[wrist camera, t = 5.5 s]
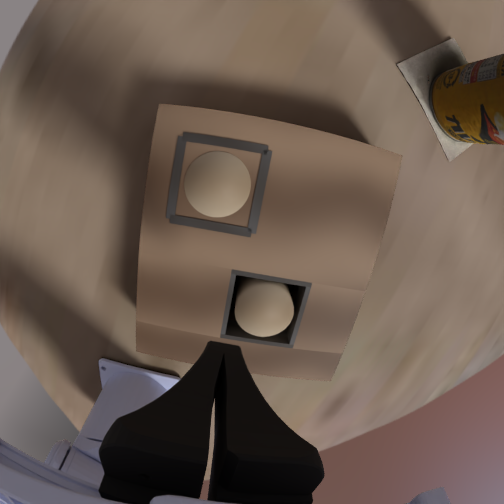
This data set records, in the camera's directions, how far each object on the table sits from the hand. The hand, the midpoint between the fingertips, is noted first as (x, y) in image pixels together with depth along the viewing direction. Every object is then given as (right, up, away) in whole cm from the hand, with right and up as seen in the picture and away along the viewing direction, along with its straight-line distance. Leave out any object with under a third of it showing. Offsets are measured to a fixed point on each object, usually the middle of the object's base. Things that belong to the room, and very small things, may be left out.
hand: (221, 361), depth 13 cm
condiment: (+17, +17, +5) cm, 25 cm away
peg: (+2, +2, +10) cm, 10 cm away
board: (+2, +5, +9) cm, 10 cm away
